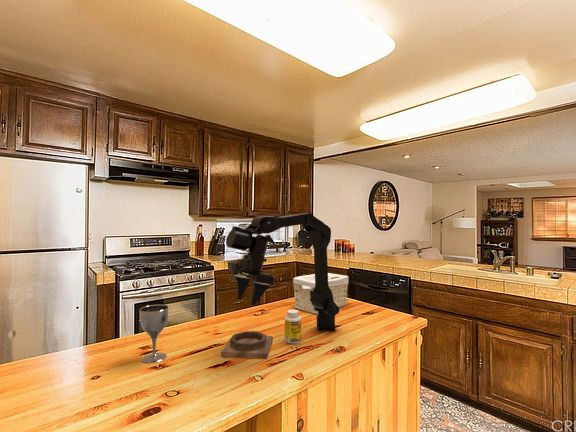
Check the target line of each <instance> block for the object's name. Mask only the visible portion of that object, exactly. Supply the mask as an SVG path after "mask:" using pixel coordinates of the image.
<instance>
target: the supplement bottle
mask: <svg viewBox="0 0 576 432" xmlns="http://www.w3.org/2000/svg"><path fill="white" fill-rule="evenodd" d="M286 313H287V314H286V316H285V318H284V341H285V343H288V344H299V343H300V342H301V341H302V317H301V316H300V311H299V309H298V310H297V309H288V310H287V312H286Z"/></svg>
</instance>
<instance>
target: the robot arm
mask: <svg viewBox="0 0 576 432" xmlns="http://www.w3.org/2000/svg"><path fill="white" fill-rule="evenodd" d="M299 225H302V227H303V229H304V231H305V232H306V233H307V234H308V239H309V243H310V244H311V246H312V248H313V260H314V261H313V262H314V264H313V265H314V274H315V287H314V289H313V291H310V301H311V303H312V305H313V306H314V310H315V311H318V314H316V328H317V331H318V332H336V316H337V315H338V314H339V313H340V309H341V307H338V306H337V305H336V304H335V303H334V299H333V294H332V292H331V290H330V288H329V286H328V273H329V269H328V265H329V264H328V246H329V245H330V243H331V238H332V230H331V229H332V228H331V227H329V225H327V224H325V223H324V222H323V220H320V219H319V218H317V217H316V216H315V215H314V214H313V213H311V212H301V213H297V214H290V215H289V214H288V215H282V216H272V215H265V216H264V215H263V216H262V215H260V216H259V215H257V216H255V217H253V219H252V220H251V223H250V224H249V225H247V227H245V229H244V228H242V227H239V226H237V225H236V226H231V227H232V228H231V230H230V231H229V232H228V235H227V236H226V240H225V244H226V247H227V248H231V249H234V250H239V251H247V253H246V254H244V255H243V256H242V258H241V259H240V258H239V259H234V260H228V261H227V268H228V269H227V270H228V273H230V275H231V277H232V279H234V281H235V282H236V283H235V284H236V294H237V295H236V297H237V299H238V300H241V299H242V298H243V296H244V295H245V292H246V290H247V288H248V286H249V284H250V285H251V286H252V294H251V301H250V302H251V303H250V304H251V306H256V305H257V303H258V301H259V300H260V299H261V297H262V296H263V294H264V293H266V291H267V290H268V289H269V288H271V286H274V284H275V277H274V275H273V274H269V273H265V271H263V265H264V263H266V262H267V258H265V256H266V252H267V248H268V243H272V244H274V242H275V241H274V239H273V238H272V236H271V234H272V233H273V232H277V231H278V230H280V229H281V228H286V227H294V226H299ZM262 234H263V235H262ZM264 234H265V235H264ZM254 235H255V236H254Z"/></svg>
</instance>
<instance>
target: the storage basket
mask: <svg viewBox="0 0 576 432" xmlns="http://www.w3.org/2000/svg"><path fill="white" fill-rule="evenodd" d="M349 279H350V278H349V276H348V275H344V274H343V275H342V274H337V273H330V272H328V286H329V288H330V290H331V292H332V294H333V299H334V303H335V304H336V305H337V306H338V307H339V308H342V307H344V306H345V307H346V305H347V298H348V297H347V296H348V295H347V294H348V286H349ZM292 283H293V291H294V307H295V308H296V309H298V310H302V311H305V312H306V313H307V312H308V313H313V314H316V315H318V311H315V310H314V306H313V305H312V303H311V301H310V291H313V289H314V287H315V273H312V274H308V275H299V276H296V277H293V281H292Z"/></svg>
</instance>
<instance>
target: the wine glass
mask: <svg viewBox="0 0 576 432" xmlns="http://www.w3.org/2000/svg"><path fill="white" fill-rule="evenodd" d="M168 318H169V305H167V304H161V303H160V304H159V303H158V304H151V305H146V306H142V307H141V308H139V320H140V325H141V328H142V330H143V331H144V332H145V333H146V334H147V335H148V336H149V338H150V339H151V343H152V353H149V354H146V355H144V356H142V357H141V359H140V361H141V362H142V363H144V364H156V363H159V362H162V361H164V360H165V359H166V358H168V355H167V354H166V353H164V352H156V351H157V350H156V349H157V348H156V347H157V339H158V336H159V335H160V334H161V333H162V331H164V329H165V327H166V326H167V323H168Z"/></svg>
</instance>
